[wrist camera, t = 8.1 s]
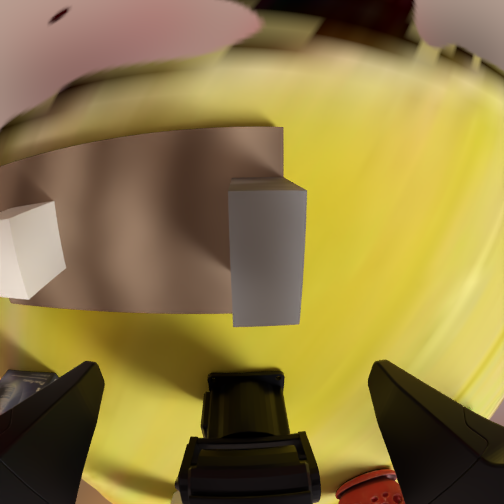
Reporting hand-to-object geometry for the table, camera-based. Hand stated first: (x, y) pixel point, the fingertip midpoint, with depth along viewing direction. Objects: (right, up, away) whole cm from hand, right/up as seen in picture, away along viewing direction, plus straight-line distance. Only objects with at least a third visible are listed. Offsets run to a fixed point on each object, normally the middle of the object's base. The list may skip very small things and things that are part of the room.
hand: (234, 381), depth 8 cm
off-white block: (-16, +5, +9) cm, 19 cm away
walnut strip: (-10, +6, +10) cm, 15 cm away
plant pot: (+20, -37, +27) cm, 50 cm away
